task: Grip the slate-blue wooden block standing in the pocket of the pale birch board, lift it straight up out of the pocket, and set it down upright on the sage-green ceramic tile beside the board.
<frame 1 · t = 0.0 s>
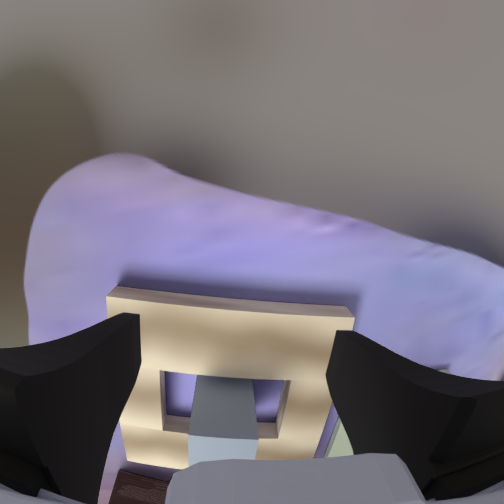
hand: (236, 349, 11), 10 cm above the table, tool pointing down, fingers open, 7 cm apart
slate block: (222, 422, 20), in the pocket board
tile: (386, 416, 25), on the table
box: (145, 488, 26), on the table
pocket board: (223, 393, 23), on the table
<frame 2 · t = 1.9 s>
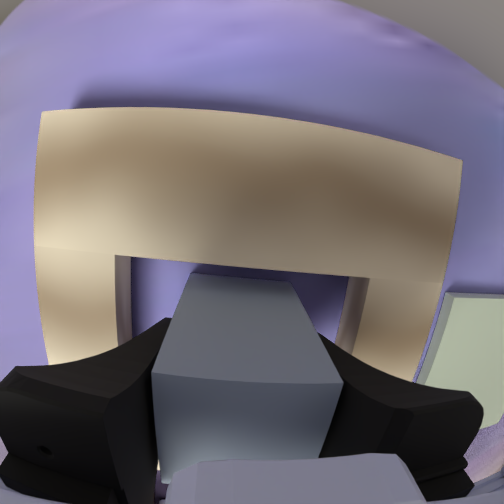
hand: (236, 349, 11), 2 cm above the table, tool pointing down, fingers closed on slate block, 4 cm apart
slate block: (237, 368, 10), in the pocket board, touching gripper
tile: (477, 370, 15), on the table
pocket board: (236, 323, 13), on the table
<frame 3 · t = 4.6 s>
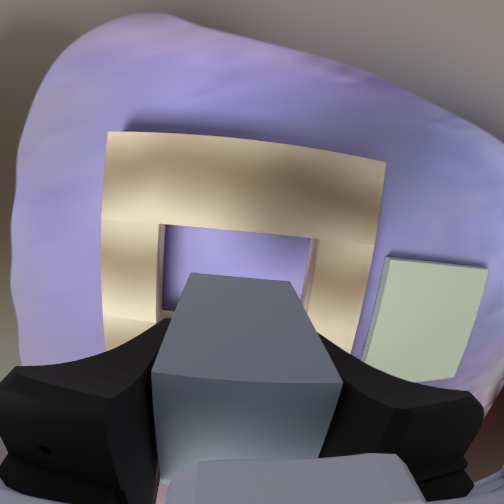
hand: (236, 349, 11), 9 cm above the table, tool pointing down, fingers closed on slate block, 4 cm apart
slate block: (237, 368, 10), point 11 cm above the table, touching gripper
tile: (424, 324, 22), on the table
pocket board: (234, 273, 20), on the table
when the fingers open (4 cm above the table, at t = 7.6 s): slate block drops 1 cm, resting on tile.
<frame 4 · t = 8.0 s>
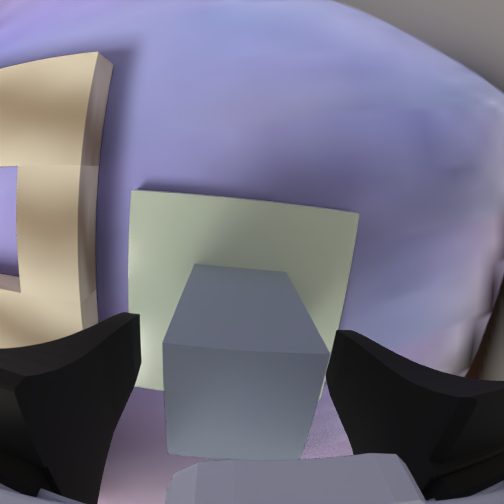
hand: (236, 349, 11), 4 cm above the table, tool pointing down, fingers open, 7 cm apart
slate block: (237, 349, 11), on the tile, point 4 cm above the table
tile: (235, 304, 15), on the table
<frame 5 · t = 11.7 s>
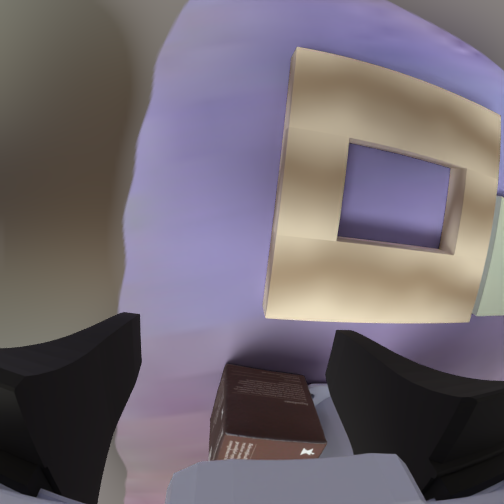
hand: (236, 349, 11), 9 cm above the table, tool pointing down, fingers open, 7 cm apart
box: (255, 397, 23), on the table
pocket board: (395, 198, 20), on the table
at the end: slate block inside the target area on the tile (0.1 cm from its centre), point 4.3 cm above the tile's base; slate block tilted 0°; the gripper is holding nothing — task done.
